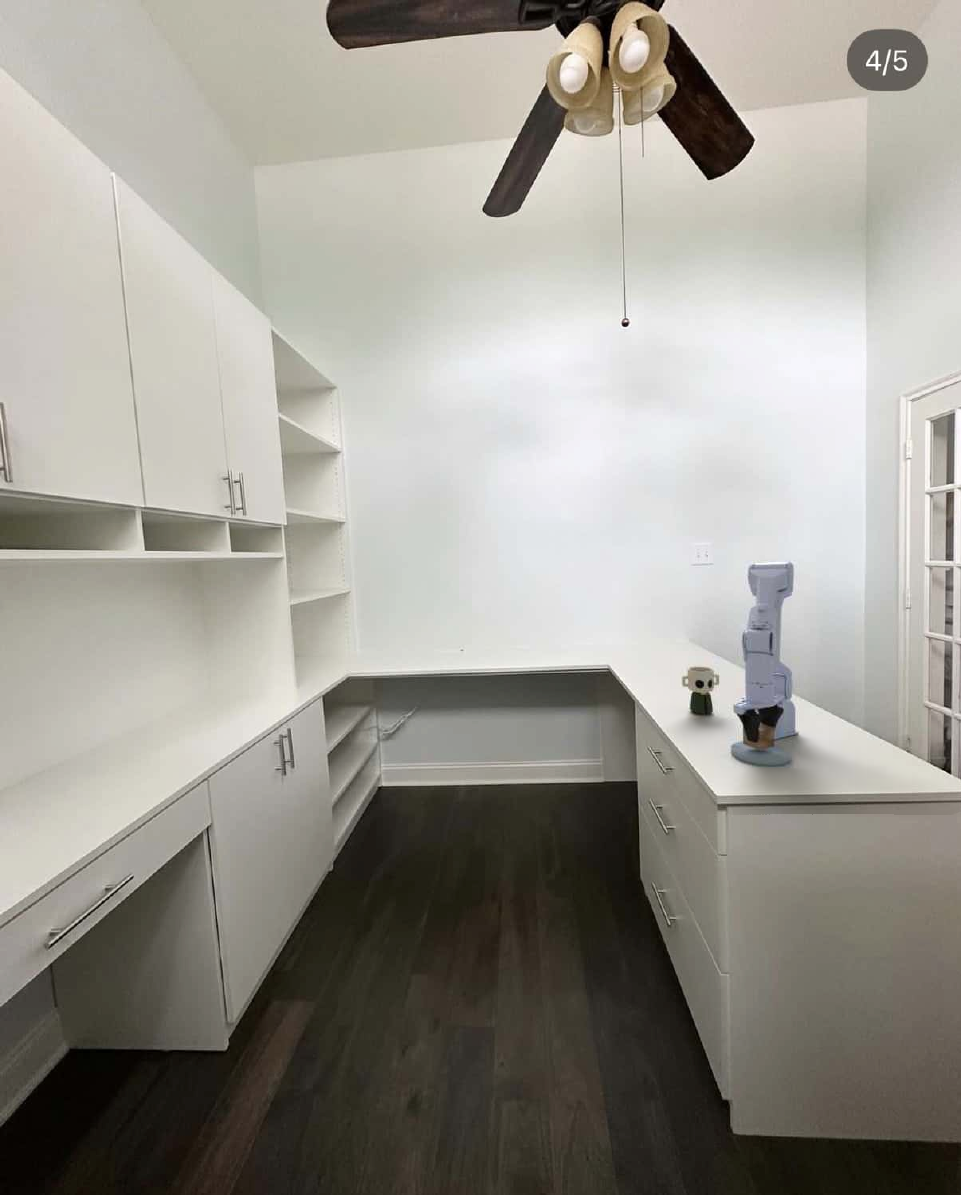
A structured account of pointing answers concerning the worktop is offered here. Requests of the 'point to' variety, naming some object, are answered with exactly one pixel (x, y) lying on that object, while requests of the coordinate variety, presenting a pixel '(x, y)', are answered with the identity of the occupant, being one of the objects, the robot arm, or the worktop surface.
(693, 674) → the character mug
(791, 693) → the robot arm
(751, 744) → the walnut block
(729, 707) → the worktop surface
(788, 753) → the slate dish
